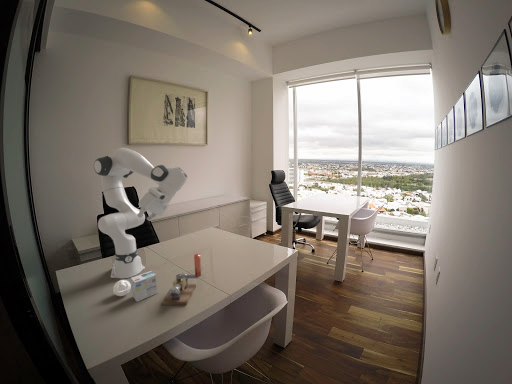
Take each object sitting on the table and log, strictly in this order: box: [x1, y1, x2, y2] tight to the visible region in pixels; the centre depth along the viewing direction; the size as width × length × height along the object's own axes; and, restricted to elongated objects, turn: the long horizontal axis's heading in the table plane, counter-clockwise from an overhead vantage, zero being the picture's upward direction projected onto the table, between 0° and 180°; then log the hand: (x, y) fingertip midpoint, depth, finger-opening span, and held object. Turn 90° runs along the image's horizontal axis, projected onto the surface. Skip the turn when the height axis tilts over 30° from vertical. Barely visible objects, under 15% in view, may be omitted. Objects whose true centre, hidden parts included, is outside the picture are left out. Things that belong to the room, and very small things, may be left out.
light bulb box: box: [130, 270, 158, 303], centre depth 119 cm, size 11×7×11 cm, turn 134°
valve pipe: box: [168, 272, 189, 300], centre depth 118 cm, size 14×5×7 cm, turn 178°
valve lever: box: [175, 253, 202, 280], centre depth 117 cm, size 3×13×13 cm, turn 88°
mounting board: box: [161, 283, 197, 306], centre depth 119 cm, size 16×12×2 cm
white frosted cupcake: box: [112, 279, 132, 297], centre depth 120 cm, size 8×8×8 cm
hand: (143, 218), depth 111 cm, fingers open, 8 cm apart
